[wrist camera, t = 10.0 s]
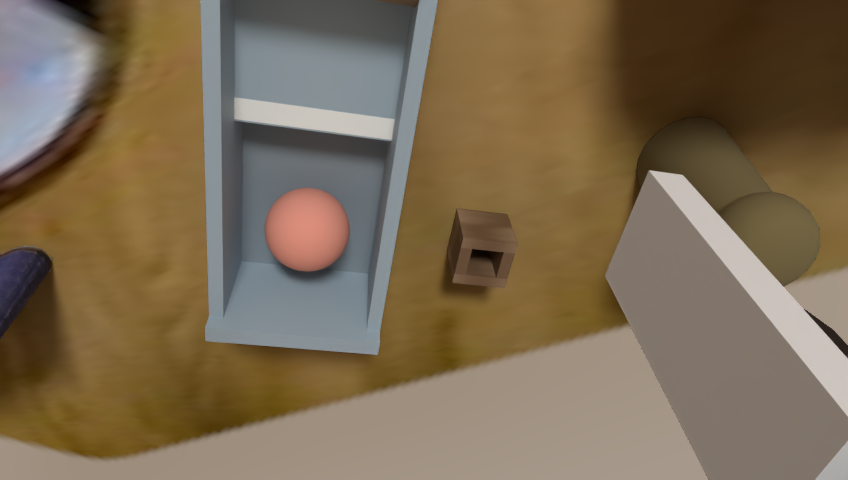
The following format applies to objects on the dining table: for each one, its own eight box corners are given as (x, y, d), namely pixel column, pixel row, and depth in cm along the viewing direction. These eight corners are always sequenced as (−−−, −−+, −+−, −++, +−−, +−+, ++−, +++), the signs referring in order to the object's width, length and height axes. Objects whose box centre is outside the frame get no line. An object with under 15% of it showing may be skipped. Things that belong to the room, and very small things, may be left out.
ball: (344, 265, 39) (345, 284, 34) (266, 257, 38) (255, 275, 34) (353, 189, 38) (355, 197, 34) (273, 179, 38) (263, 187, 33)
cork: (672, 218, 41) (758, 328, 32) (617, 167, 38) (692, 270, 29) (750, 155, 38) (866, 254, 29) (696, 97, 36) (804, 184, 27)
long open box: (453, -182, 28) (475, -188, 21) (377, 283, 42) (377, 360, 36) (228, -230, 26) (182, -251, 20) (230, 269, 41) (203, 347, 34)
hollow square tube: (507, 214, 40) (517, 244, 37) (495, 256, 41) (504, 288, 39) (456, 208, 39) (463, 238, 36) (446, 251, 41) (452, 282, 38)
